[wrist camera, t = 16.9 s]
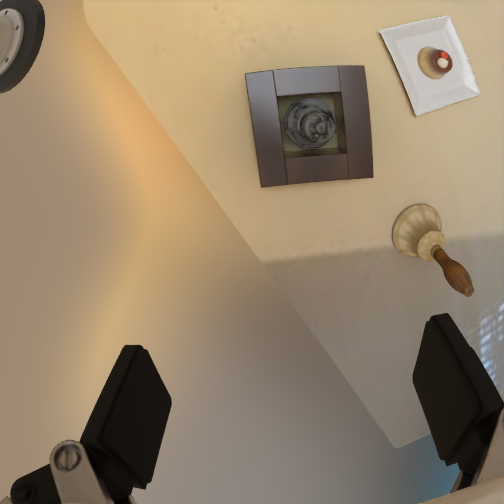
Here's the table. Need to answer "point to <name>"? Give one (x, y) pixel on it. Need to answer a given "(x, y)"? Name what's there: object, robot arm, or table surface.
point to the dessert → (431, 63)
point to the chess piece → (310, 123)
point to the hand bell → (428, 244)
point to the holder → (317, 160)
